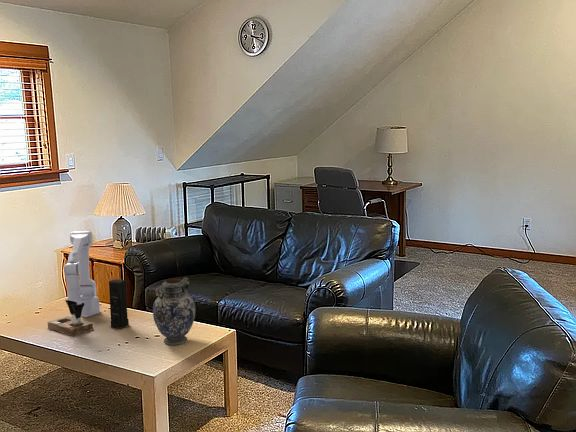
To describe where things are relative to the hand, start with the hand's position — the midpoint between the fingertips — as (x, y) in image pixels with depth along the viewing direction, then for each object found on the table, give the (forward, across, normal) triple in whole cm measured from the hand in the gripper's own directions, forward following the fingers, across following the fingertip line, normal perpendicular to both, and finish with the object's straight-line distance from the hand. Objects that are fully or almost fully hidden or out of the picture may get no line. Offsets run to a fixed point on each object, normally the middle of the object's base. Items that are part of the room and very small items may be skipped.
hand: (75, 315), depth 269 cm
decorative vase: (+7, -43, -30) cm, 53 cm away
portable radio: (+8, -7, -18) cm, 21 cm away
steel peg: (+7, 0, 0) cm, 7 cm away
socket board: (+7, +5, +2) cm, 9 cm away
